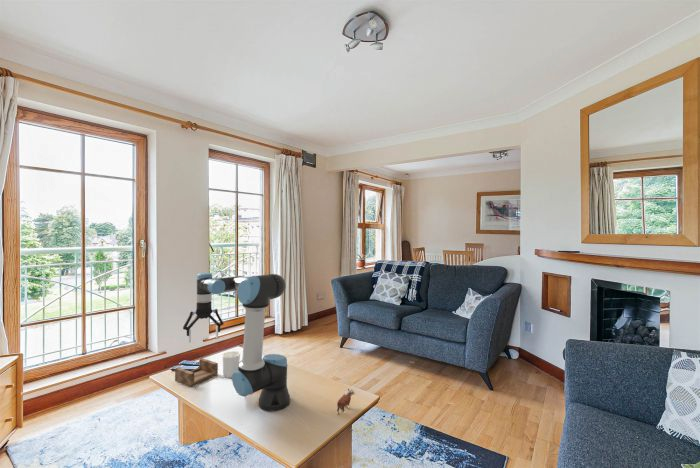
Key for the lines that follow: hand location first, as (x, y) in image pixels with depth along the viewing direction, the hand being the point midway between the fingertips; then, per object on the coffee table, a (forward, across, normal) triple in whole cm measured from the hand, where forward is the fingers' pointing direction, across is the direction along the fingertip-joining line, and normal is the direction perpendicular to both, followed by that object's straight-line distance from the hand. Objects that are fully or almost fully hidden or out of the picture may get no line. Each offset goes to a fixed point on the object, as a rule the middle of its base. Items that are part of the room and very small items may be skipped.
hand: (203, 339), depth 176 cm
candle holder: (+24, -15, -5) cm, 29 cm away
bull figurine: (+25, -58, +58) cm, 86 cm away
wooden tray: (+24, +2, -9) cm, 26 cm away
